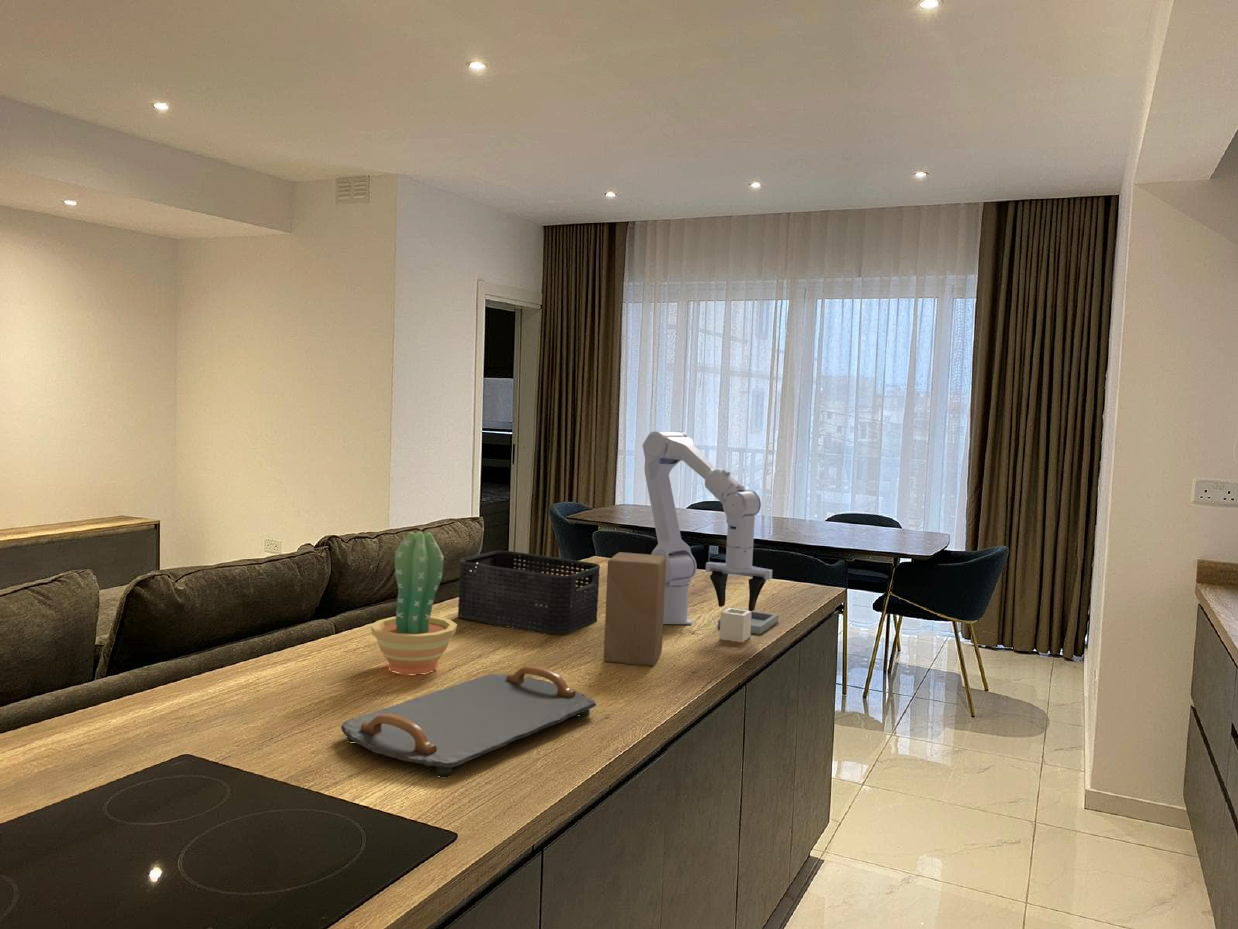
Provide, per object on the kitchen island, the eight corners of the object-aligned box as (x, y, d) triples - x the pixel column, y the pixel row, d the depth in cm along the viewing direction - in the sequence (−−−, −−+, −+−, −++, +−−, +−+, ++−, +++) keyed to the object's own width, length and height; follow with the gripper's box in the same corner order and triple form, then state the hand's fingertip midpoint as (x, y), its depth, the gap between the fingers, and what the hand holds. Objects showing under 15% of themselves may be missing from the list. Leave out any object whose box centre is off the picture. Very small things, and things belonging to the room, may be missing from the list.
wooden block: (653, 667, 174) (658, 563, 172) (602, 662, 175) (607, 559, 174) (661, 653, 183) (666, 555, 182) (613, 648, 185) (617, 551, 184)
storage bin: (602, 620, 210) (605, 562, 209) (562, 638, 192) (565, 575, 191) (497, 603, 222) (499, 549, 221) (451, 619, 204) (453, 560, 203)
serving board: (503, 684, 160) (504, 650, 160) (610, 715, 147) (611, 677, 147) (320, 748, 128) (320, 705, 128) (436, 794, 115) (437, 746, 115)
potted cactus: (470, 662, 172) (474, 530, 170) (431, 685, 157) (436, 542, 155) (396, 652, 176) (400, 524, 174) (352, 674, 161) (356, 534, 159)
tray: (760, 634, 202) (760, 626, 202) (717, 628, 206) (718, 620, 206) (778, 622, 214) (778, 614, 214) (737, 616, 219) (738, 608, 219)
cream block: (742, 643, 194) (743, 615, 194) (719, 639, 197) (720, 612, 196) (750, 638, 199) (751, 611, 199) (727, 634, 201) (729, 607, 201)
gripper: (701, 544, 196) (698, 606, 197) (766, 552, 190) (763, 616, 191) (713, 541, 202) (710, 601, 203) (776, 548, 196) (772, 610, 197)
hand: (736, 608), depth 197 cm, fingers open, 6 cm apart
